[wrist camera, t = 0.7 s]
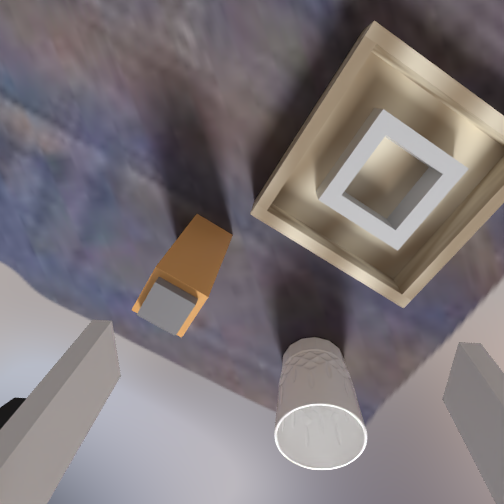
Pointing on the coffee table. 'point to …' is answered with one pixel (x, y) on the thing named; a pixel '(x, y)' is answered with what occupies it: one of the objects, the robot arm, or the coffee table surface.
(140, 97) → the coffee table surface
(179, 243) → the connector
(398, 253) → the box
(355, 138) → the socket
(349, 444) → the white cup
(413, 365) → the coffee table surface
